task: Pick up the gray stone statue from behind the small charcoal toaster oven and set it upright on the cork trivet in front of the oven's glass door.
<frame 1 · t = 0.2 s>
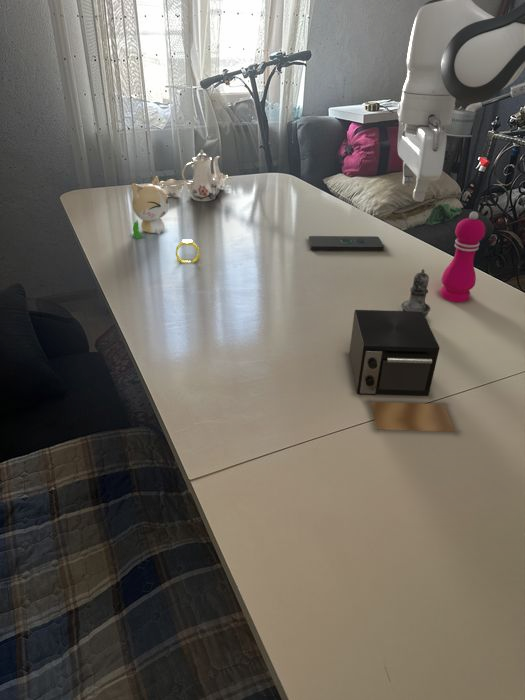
hand: (412, 192, 95), 27 cm above the table, tool pointing down, fingers open, 8 cm apart
pepper mill: (454, 298, 118), on the table
chinaware: (200, 197, 182), on the table
trivet: (410, 418, 82), on the table
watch: (188, 263, 133), on the table
smart home device: (345, 247, 144), on the table
gray stone statue: (412, 322, 108), on the table
oven: (386, 375, 91), on the table
kitten: (152, 232, 152), on the table
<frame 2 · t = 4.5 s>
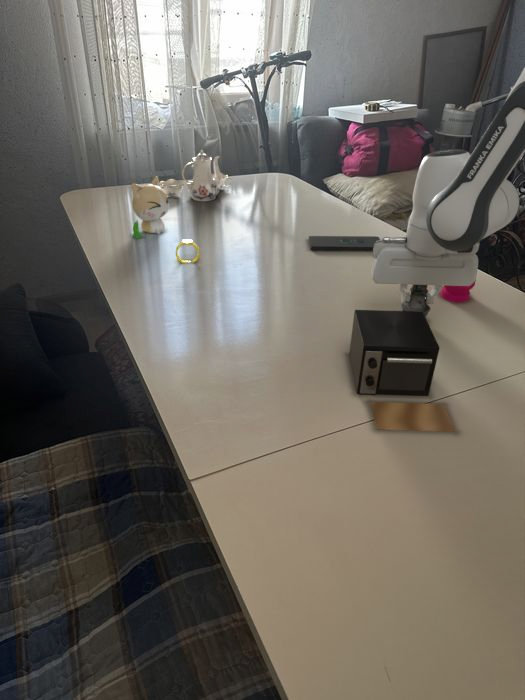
hand: (416, 302, 106), 5 cm above the table, tool pointing down, fingers closed on gray stone statue, 3 cm apart
gray stone statue: (412, 322, 108), on the table, touching gripper
everything else where it was.
when the fingers open (5 cm above the table, at t = 12.0 s): gray stone statue stays where it is, resting on trivet.
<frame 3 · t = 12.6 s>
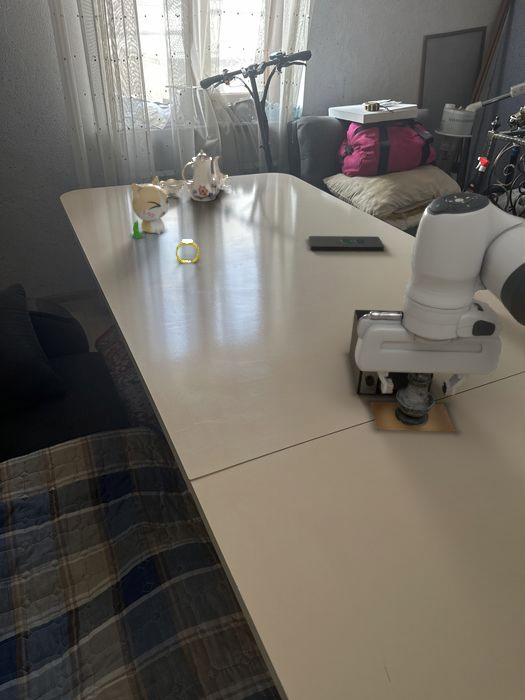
hand: (416, 392, 79), 5 cm above the table, tool pointing down, fingers open, 8 cm apart
gray stone statue: (411, 416, 82), resting on trivet
everything else where it was.
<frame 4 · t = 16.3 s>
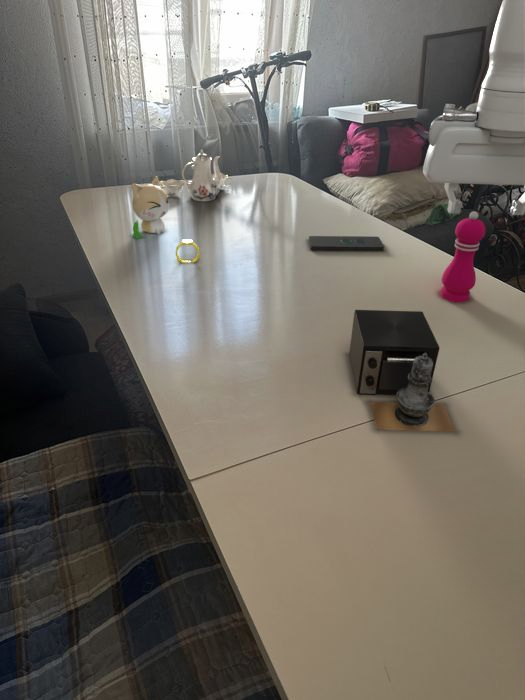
hand: (484, 213, 77), 29 cm above the table, tool pointing down, fingers open, 8 cm apart
nothing on the table moved.
at the end: gray stone statue inside the target area on the table beside the oven (1.0 cm from its centre), resting on trivet; gray stone statue 0.0 cm from the trivet (horizontally); gray stone statue tilted 0° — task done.
